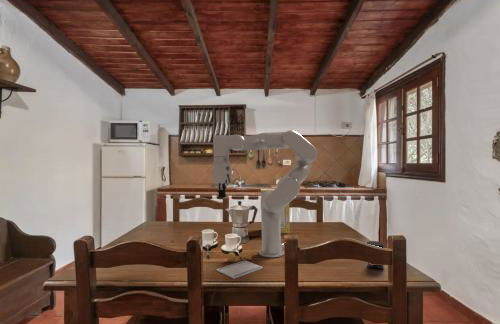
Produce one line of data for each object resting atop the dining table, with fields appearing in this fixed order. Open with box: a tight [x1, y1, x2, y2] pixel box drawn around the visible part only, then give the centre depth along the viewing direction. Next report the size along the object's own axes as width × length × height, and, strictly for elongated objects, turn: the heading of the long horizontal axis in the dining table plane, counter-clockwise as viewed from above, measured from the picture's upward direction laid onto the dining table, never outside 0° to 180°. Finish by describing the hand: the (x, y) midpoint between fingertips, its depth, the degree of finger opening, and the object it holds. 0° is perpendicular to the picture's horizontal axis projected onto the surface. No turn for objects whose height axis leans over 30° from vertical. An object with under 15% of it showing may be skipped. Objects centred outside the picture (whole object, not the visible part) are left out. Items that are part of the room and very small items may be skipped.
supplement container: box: [366, 240, 385, 270], centre depth 122 cm, size 7×7×10 cm
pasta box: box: [260, 188, 291, 234], centre depth 188 cm, size 18×10×28 cm, turn 88°
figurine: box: [226, 252, 253, 262], centre depth 133 cm, size 8×6×12 cm
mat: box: [216, 259, 264, 280], centre depth 122 cm, size 16×12×1 cm
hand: (222, 197), depth 139 cm, fingers closed
